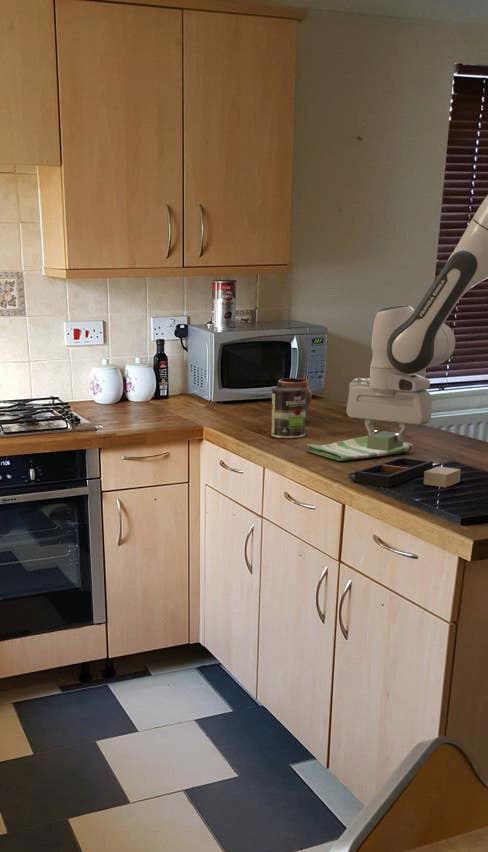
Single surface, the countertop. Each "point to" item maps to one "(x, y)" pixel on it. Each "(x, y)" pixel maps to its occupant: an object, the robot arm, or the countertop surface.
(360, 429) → the countertop surface
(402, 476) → the divided tray
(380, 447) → the sage pad
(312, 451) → the dish towel
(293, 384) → the decorative planter
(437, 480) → the cream pad
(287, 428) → the coffee can
